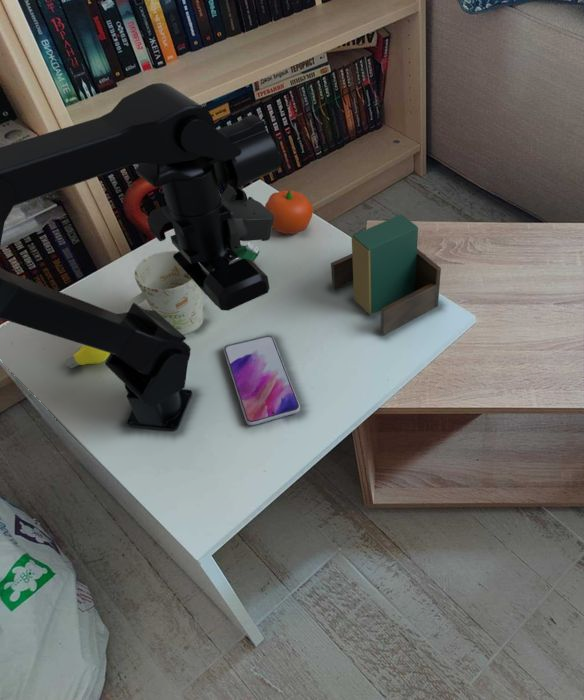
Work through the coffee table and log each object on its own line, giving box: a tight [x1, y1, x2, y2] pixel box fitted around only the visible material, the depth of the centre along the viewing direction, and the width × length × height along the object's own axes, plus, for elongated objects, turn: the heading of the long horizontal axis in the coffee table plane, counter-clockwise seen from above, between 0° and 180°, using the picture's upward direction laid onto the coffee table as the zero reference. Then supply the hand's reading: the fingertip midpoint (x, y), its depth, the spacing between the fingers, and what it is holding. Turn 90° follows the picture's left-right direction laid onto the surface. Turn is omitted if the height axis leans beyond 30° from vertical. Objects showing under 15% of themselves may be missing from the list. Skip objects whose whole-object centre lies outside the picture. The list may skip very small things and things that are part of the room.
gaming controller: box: [234, 242, 261, 263], centre depth 107 cm, size 9×4×6 cm
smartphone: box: [223, 334, 301, 426], centre depth 93 cm, size 7×1×15 cm
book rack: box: [330, 248, 442, 336], centre depth 105 cm, size 11×14×8 cm
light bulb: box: [65, 344, 110, 369], centre depth 92 cm, size 3×6×4 cm
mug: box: [121, 250, 205, 336], centre depth 95 cm, size 8×13×10 cm, turn 146°
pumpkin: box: [264, 189, 314, 235], centre depth 114 cm, size 8×8×7 cm
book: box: [351, 213, 419, 316], centre depth 103 cm, size 9×4×13 cm, turn 132°
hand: (219, 302), depth 87 cm, fingers closed
